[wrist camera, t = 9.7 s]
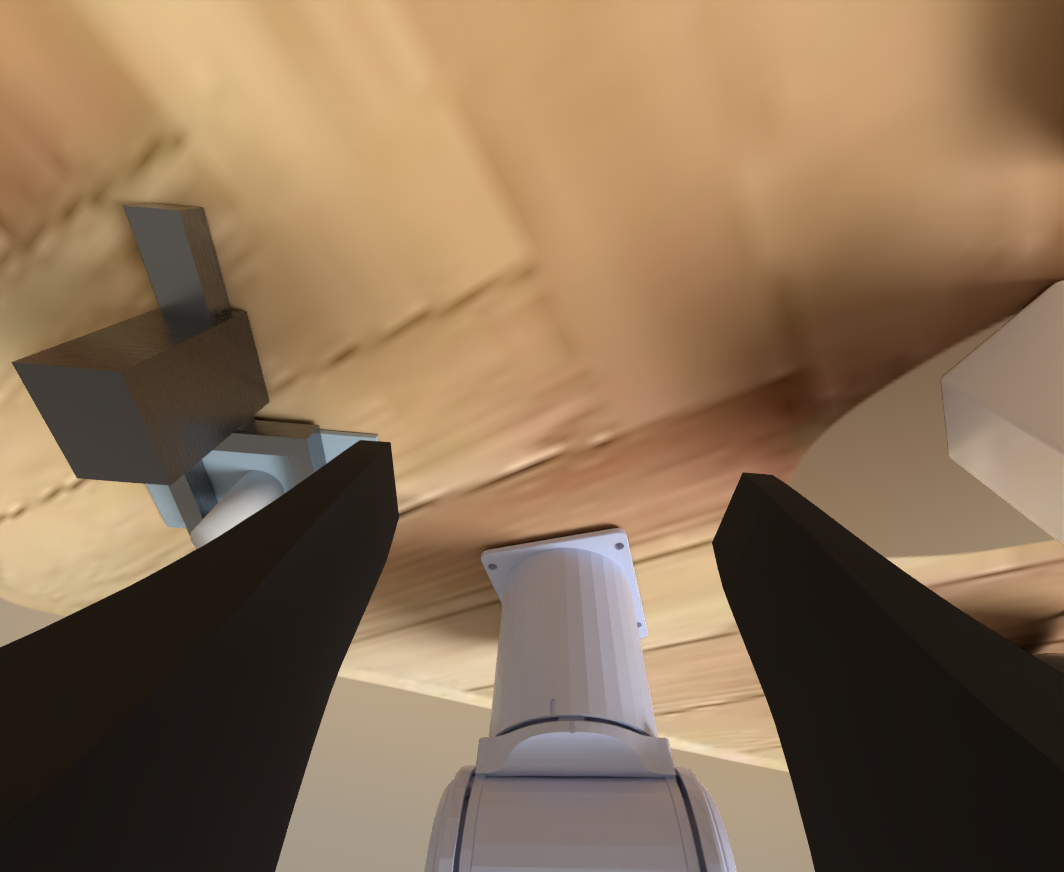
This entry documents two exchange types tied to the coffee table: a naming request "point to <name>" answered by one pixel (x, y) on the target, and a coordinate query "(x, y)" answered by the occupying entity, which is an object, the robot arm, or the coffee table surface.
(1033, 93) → the coffee table surface
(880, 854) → the robot arm
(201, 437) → the grey block with tab
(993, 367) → the pale grey angular block
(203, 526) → the keeper
